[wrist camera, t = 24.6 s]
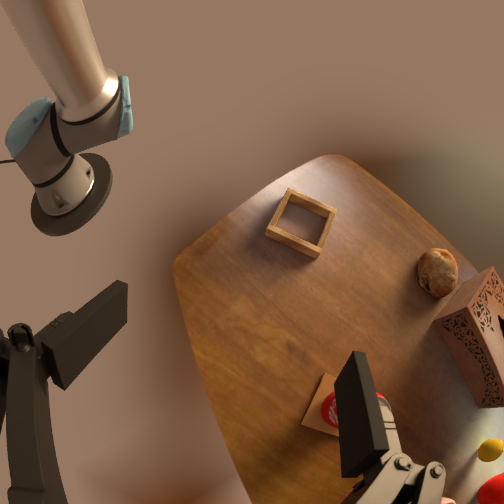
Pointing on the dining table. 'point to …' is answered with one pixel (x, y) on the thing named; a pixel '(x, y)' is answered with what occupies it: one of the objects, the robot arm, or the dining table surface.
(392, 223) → the dining table surface
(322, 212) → the square wooden frame
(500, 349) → the tissue box cover
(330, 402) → the beverage can
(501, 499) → the apple
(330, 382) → the cork mat
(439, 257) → the bread roll
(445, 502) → the mug
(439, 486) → the robot arm
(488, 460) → the lemon
